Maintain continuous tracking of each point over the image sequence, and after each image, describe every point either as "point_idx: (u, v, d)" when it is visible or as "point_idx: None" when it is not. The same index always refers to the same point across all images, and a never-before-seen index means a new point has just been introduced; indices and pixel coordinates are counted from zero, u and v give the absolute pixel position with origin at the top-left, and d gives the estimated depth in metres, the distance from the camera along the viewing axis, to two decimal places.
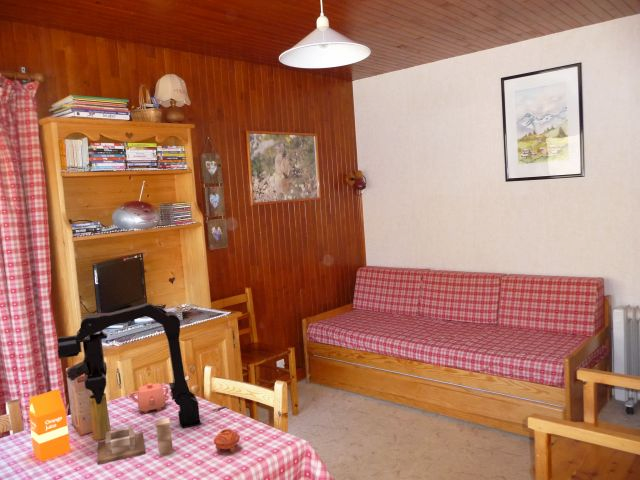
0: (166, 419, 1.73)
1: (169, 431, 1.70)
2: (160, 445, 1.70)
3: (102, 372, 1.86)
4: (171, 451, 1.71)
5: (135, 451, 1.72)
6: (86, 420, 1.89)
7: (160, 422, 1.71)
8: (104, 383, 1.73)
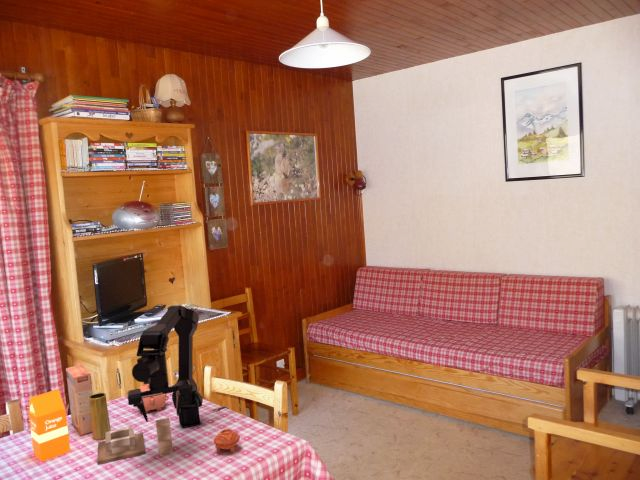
0: (166, 419, 1.73)
1: (169, 431, 1.70)
2: (160, 445, 1.70)
3: (179, 395, 1.71)
4: (171, 451, 1.71)
5: (135, 451, 1.72)
6: (86, 420, 1.89)
7: (160, 422, 1.71)
8: (128, 403, 1.65)
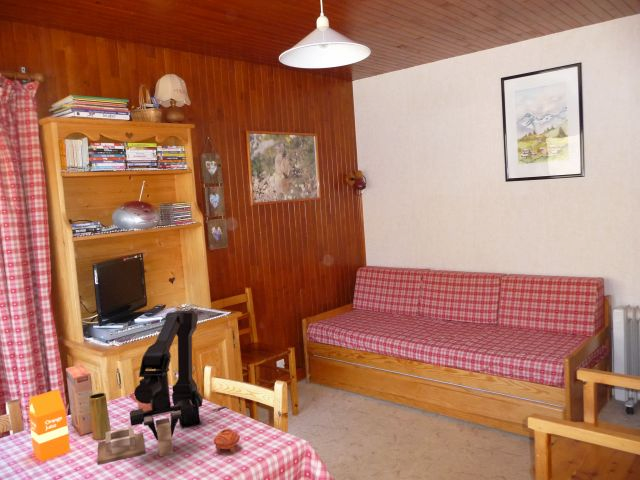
0: (166, 419, 1.73)
1: (169, 431, 1.70)
2: (160, 445, 1.70)
3: (173, 416, 1.71)
4: (171, 451, 1.71)
5: (135, 451, 1.72)
6: (86, 420, 1.89)
7: (160, 422, 1.71)
8: (131, 423, 1.65)
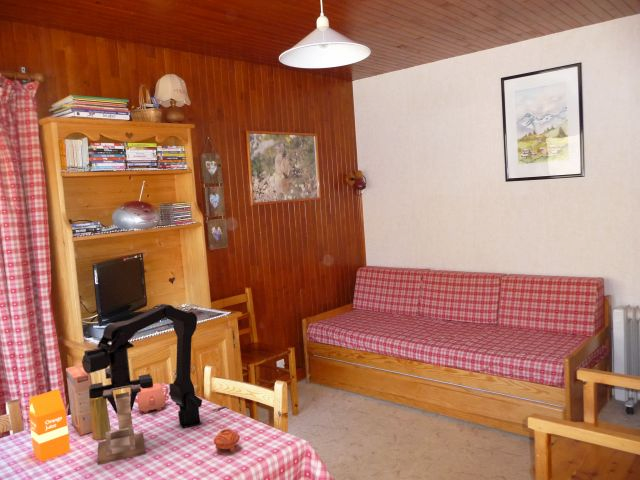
0: (126, 393, 1.75)
1: (128, 405, 1.72)
2: (119, 418, 1.71)
3: (133, 390, 1.73)
4: (130, 425, 1.73)
5: (135, 451, 1.72)
6: (86, 420, 1.89)
7: (120, 396, 1.73)
8: (90, 396, 1.67)
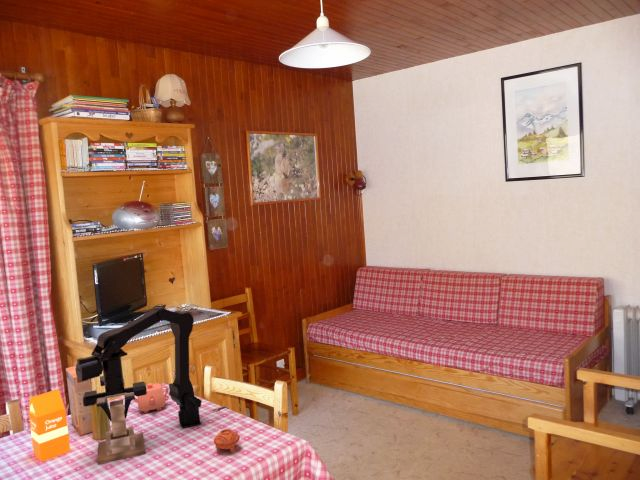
0: (120, 401, 1.76)
1: (122, 412, 1.73)
2: (113, 426, 1.73)
3: (127, 398, 1.74)
4: (125, 432, 1.74)
5: (135, 451, 1.72)
6: (86, 420, 1.89)
7: (114, 403, 1.74)
8: (83, 404, 1.69)
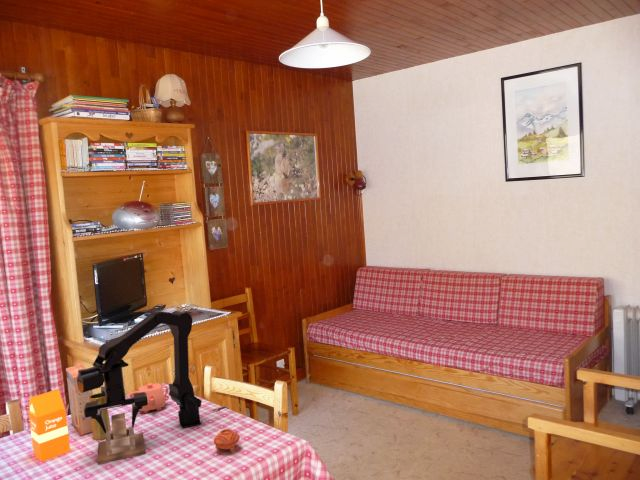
0: (122, 414, 1.76)
1: (124, 426, 1.74)
2: None
3: (134, 407, 1.75)
4: None
5: (135, 451, 1.72)
6: (86, 420, 1.89)
7: (115, 417, 1.74)
8: (85, 415, 1.69)
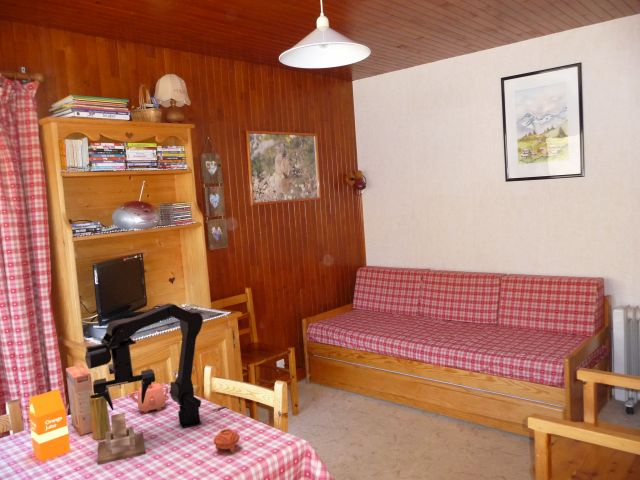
0: (122, 414, 1.76)
1: (124, 426, 1.74)
2: None
3: (144, 383, 1.78)
4: None
5: (135, 451, 1.72)
6: (86, 420, 1.89)
7: (115, 417, 1.74)
8: (94, 392, 1.72)
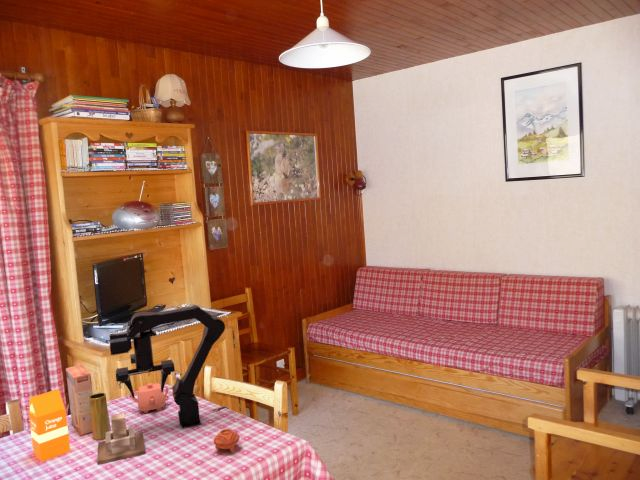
0: (122, 414, 1.76)
1: (124, 426, 1.74)
2: None
3: (163, 373, 1.86)
4: None
5: (135, 451, 1.72)
6: (86, 420, 1.89)
7: (115, 417, 1.74)
8: (116, 379, 1.80)
